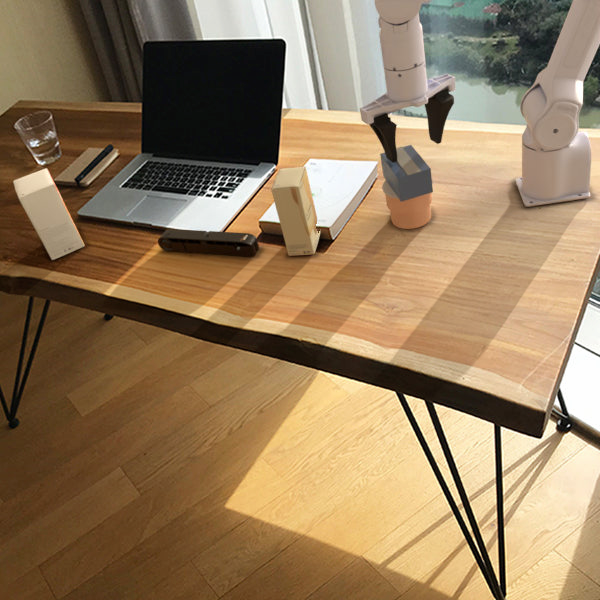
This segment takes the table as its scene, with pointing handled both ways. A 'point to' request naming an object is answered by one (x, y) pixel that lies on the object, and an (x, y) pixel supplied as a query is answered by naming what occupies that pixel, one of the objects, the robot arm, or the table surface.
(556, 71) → the robot arm
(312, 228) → the cosmetic box
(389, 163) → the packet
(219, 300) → the table surface
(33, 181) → the small box
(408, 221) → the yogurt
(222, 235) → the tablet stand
